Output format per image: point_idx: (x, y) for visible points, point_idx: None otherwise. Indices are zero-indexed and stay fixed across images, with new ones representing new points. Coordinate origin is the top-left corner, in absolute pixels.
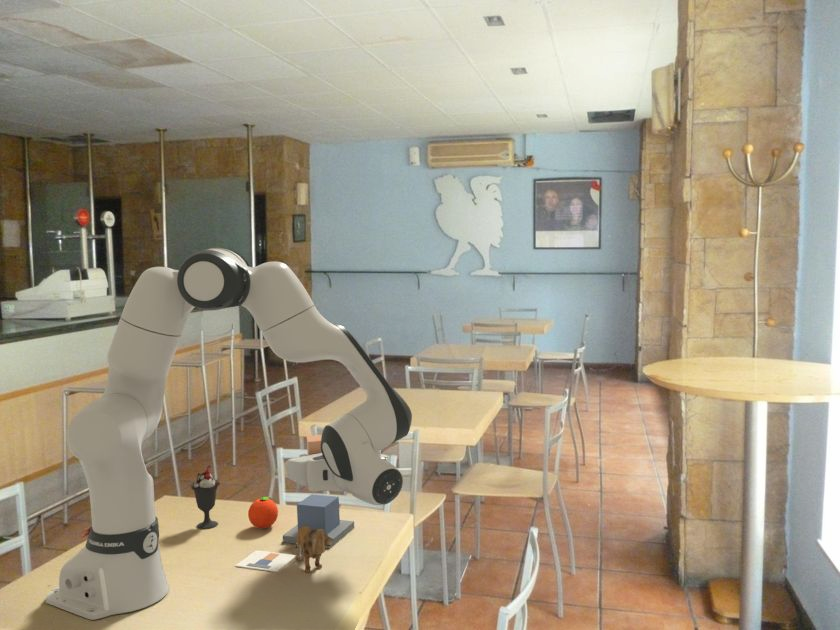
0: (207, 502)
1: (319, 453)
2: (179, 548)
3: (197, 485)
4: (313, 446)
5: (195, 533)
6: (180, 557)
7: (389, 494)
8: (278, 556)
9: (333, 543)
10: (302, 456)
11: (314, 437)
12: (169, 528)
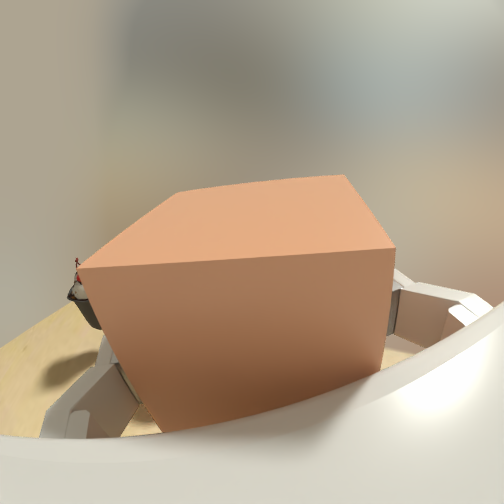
0: (93, 320)
1: (163, 460)
2: (49, 399)
3: (73, 291)
4: (139, 316)
5: (89, 363)
6: (35, 428)
7: None
8: None
9: None
10: (88, 373)
11: (202, 203)
12: (77, 337)
